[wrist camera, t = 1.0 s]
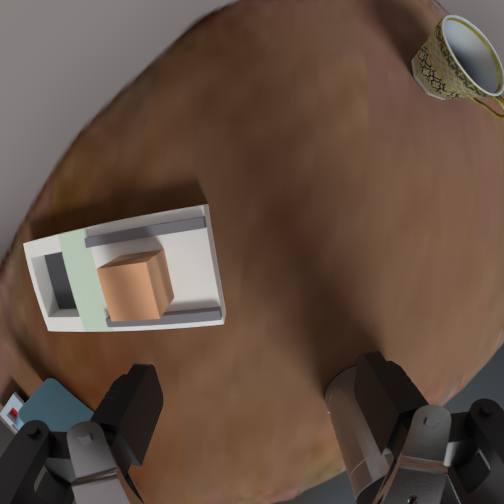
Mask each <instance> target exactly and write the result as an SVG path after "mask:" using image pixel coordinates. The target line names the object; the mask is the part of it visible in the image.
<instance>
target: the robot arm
mask: <svg viewBox="0 0 504 504" xmlns="http://www.w3.org/2000/svg"><path fill="white" fill-rule="evenodd" d="M325 402H326V405H327V409H328V412H329V415H330V418H331V421H332V424H333V427H334V430H335V434H336V437H337V440H338V443H339V446H340V449H341V453H342V456H343V459H344V462H345V465H346V469H347V472H348V475H349V479H350V482H351V485H352V488H353V492H354V495H355V498H356V503H357V504H459V502H458V500H457V498H456V496H455V494H454V491H453V489H452V486H451V484H450V481H449V478H450V480H451V482H452V484H453V486H454V489H455V491H456V493H457V495H458V497H459V500H460V502H461V504H504V411H503V409H502V408H501V407H500V406H499V405H498V404H497V403H496V402H495V401H493V400H490V399H479V400H477V401H475V402H474V403H473V404H472V406H471V408H470V410H469V411H468V412H462V413H454V414H449V412H448V411H447V410H446V409H444V408H443V407H441V406H438V405H429V404H428V402H427V401H426V400H425V398H424V397H423V395H422V394H421V393H420V391H419V390H418V389H417V387H416V386H415V385H414V383H413V382H411V379H410V378H409V377H408V376H407V374H406V373H405V371H404V370H403V369H402V368H401V366H399V365H397V364H396V363H394V362H393V361H386V360H385V359H384V357H383V356H382V355H381V353H380V352H379V351H375V352H369V353H363V354H360V355H359V357H358V363H357V366H353V367H351V368H348V369H347V370H345V371H343V372H341V373H340V374H339V375H337V376H336V377H335V378H334V379H333V380H332V381H331V383H330V384H329V385H328V387H327V389H326V392H325ZM162 407H163V393H162V390H161V387H160V383H159V380H158V377H157V373H156V370H155V367H154V366H153V365H151V364H137V363H135V364H134V365H133V366H132V368H131V369H130V371H129V372H128V374H127V375H126V374H123V375H122V376H120V377H119V378H118V379H116V380H115V381H114V382H113V384H112V385H111V387H110V388H109V391H108V392H107V393H106V395H105V398H103V400H102V401H101V403H100V404H99V406H98V407H97V409H96V411H95V412H94V414H93V416H92V417H91V419H90V420H89V421H83V422H79V423H77V424H75V425H73V426H72V427H71V428H70V429H69V431H68V432H57V431H50V429H49V427H48V426H47V424H46V423H45V422H43V421H41V420H31V421H28V422H26V423H25V424H24V425H23V426H22V427H21V428H20V430H19V431H18V432H17V434H16V435H15V437H14V438H13V440H12V441H11V443H10V444H9V446H8V447H7V449H6V450H5V452H4V453H3V455H2V456H1V458H0V504H72V503H73V500H74V497H75V499H76V503H77V504H146V502H145V501H144V499H143V497H142V495H141V494H140V492H139V490H138V488H137V486H136V484H135V482H134V480H133V478H132V476H131V474H130V473H129V471H128V470H129V467H130V465H131V464H132V465H137V466H142V463H143V460H144V457H145V454H146V451H147V449H148V446H149V443H150V440H151V437H152V435H153V432H154V429H155V426H156V424H157V421H158V418H159V415H160V413H161V410H162ZM480 450H481V451H482V453H483V454H484V456H485V458H486V459H487V461H488V463H489V465H490V470H489V469H488V467H487V466H486V464H485V462H484V460H483V458H482V457H481V455H480V453H479V451H480ZM42 467H43V468H44V469H45V470H46V472H45V474H44V476H43V478H42V480H41V482H40V484H39V486H38V488H37V491H36V492H35V491H34V483H35V481H36V479H37V476H38V475H39V473H40V471H41V469H42ZM447 474H448V475H447ZM448 476H449V478H448Z"/></svg>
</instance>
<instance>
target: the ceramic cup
mask: <svg viewBox="0 0 504 504" xmlns="http://www.w3.org/2000/svg"><path fill="white" fill-rule="evenodd" d="M411 63H412V70H413V77H414V79H415V80H416V81H417V82H418V84H419V85H420V86H421V88H422V89H423V90H424V91H425V93H426V94H428V95H430V96H433V97H436V98H438V99H441V100H445V99H454V98H468V99H471V100H473V101H474V102H475V103H477V104H479V105H480V106H482V107H484V108H485V109H486V110H488V111H489V112H490V113H491V114H493V115H494V116H495V117H497V118H500V119H504V115H499V114H497V113H496V112H495V111H493V110H492V109H491V108H490V107H488V106H487V105H486V104H484V103H482V102H481V101H479V100H477V99H476V98H475V97H489V98H492V99H494V100H495V101H497V102H498V103H499V104H500V106H501V107H502V108H503V110H504V99H503V98H502V97H501V96H500V95H501V94H502V92H503V91H504V71H503V67H502V64H501V62H500V59H499V57H498V55H497V53H496V51H495V49H494V48H493V46H492V45H491V43H490V42H489V40H488V39H487V38H486V37H485V35H484V34H483V33H482V32H481V31H480V30H479V29H478V28H477V27H476V26H475V25H473V24H472V23H471V22H469V21H468V20H466V19H464V18H462V17H460V16H457V15H452V14H450V15H446V16H445V17H444V18H443V19H442V20H441V21H440V22H439V23H438V24H437V26H436V27H435V28H434V30H433V31H432V33H431V34H430V36H429V38H428V39H427V41H426V42H425V43H424V45H423V46H422V47H421V49H420V50H419V51H418V53H417V54H416V55H415V56H414V58H413V59H412V61H411Z"/></svg>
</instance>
